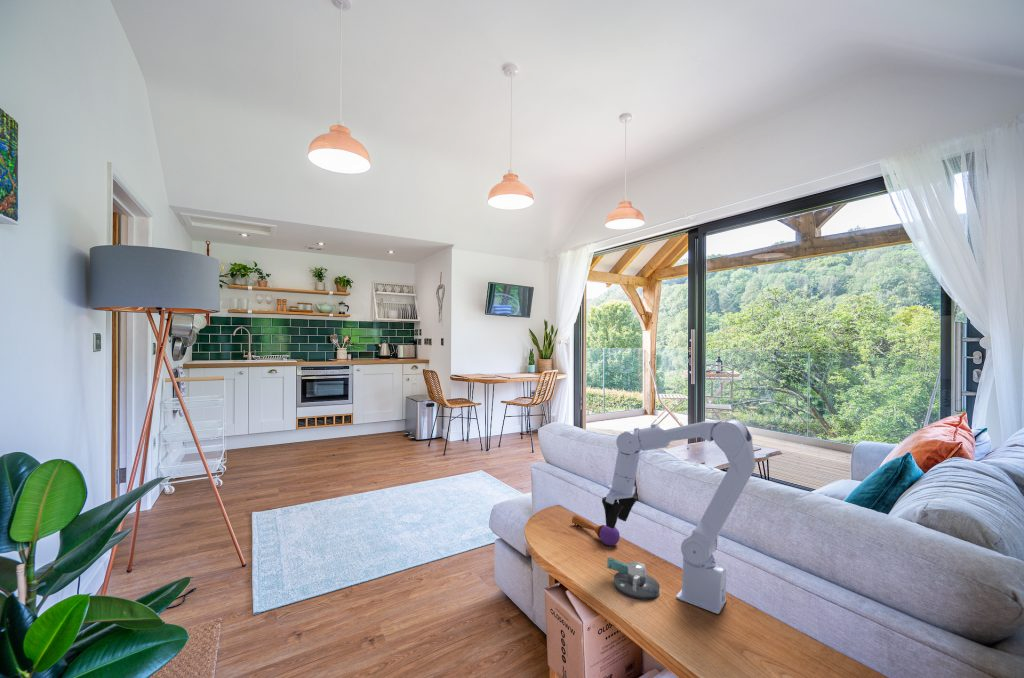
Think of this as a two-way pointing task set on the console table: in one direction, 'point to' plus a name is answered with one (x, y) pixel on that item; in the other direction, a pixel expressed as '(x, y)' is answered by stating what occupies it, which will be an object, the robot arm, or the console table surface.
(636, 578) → the post plate
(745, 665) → the console table surface
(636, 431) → the robot arm
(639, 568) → the teal ball-top lever
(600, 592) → the console table surface
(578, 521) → the purple maraca
